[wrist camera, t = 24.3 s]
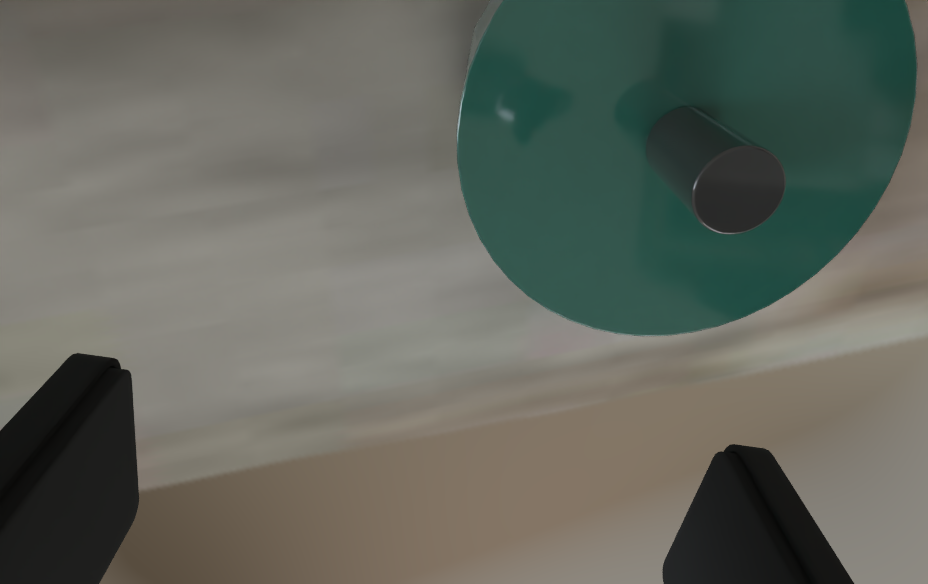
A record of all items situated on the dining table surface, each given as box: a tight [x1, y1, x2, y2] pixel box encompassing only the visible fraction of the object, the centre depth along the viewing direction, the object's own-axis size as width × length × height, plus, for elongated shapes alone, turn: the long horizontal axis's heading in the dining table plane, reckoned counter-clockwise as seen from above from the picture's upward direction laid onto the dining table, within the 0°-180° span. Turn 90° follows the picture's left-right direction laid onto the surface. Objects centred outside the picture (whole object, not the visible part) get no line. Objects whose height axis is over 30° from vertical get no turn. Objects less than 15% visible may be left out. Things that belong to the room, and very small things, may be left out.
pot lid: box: [457, 0, 917, 336], centre depth 21 cm, size 16×16×6 cm
